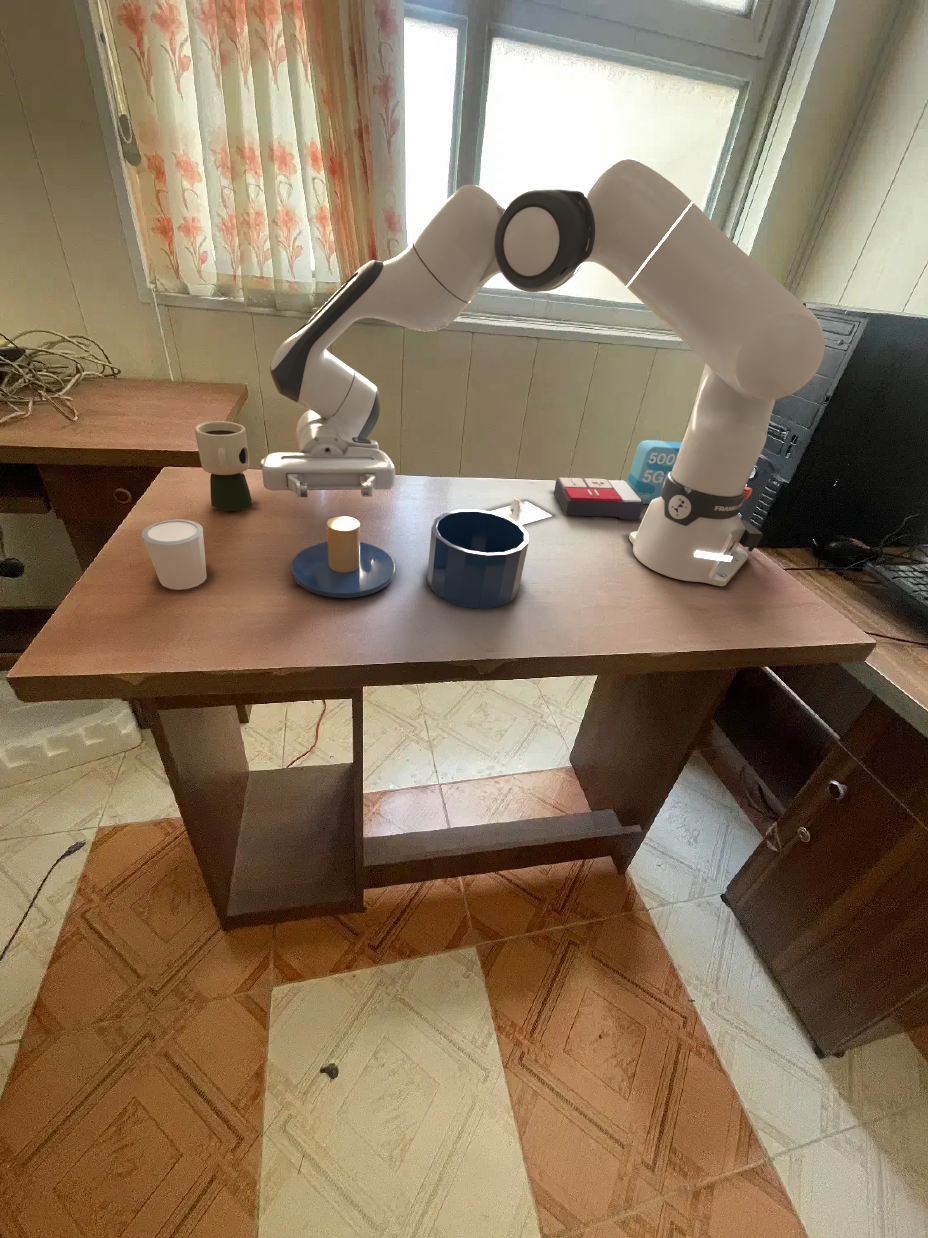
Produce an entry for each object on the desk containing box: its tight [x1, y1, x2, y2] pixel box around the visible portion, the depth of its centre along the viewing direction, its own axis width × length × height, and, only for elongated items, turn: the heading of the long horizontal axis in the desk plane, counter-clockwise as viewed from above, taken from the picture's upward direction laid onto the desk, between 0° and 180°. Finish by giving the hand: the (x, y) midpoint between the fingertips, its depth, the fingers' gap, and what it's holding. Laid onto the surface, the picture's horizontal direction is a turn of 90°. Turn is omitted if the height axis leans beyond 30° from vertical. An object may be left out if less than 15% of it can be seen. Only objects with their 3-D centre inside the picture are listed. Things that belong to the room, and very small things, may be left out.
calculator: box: [553, 477, 644, 521], centre depth 105 cm, size 11×4×15 cm
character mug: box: [194, 420, 253, 512], centre depth 83 cm, size 11×7×13 cm, turn 19°
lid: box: [290, 515, 396, 599], centre depth 73 cm, size 14×14×8 cm
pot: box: [426, 509, 530, 610], centre depth 75 cm, size 13×13×8 cm
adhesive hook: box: [507, 497, 526, 516], centre depth 97 cm, size 3×3×3 cm
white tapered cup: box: [141, 518, 208, 591], centre depth 67 cm, size 7×7×7 cm
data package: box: [625, 439, 682, 505], centre depth 109 cm, size 12×4×12 cm, turn 98°
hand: (335, 492), depth 77 cm, fingers open, 8 cm apart
